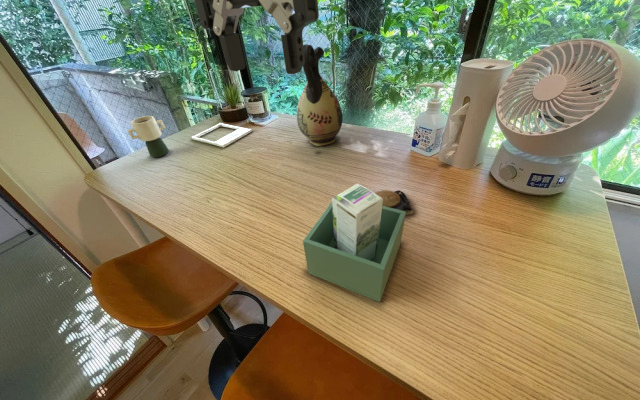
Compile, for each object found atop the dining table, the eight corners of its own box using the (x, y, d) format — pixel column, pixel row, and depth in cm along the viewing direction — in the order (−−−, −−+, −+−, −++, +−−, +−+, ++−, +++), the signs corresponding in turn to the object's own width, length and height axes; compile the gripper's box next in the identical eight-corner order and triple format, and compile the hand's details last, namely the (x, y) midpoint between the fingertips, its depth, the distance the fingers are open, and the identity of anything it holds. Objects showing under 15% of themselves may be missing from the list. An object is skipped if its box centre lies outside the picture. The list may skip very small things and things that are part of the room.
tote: (379, 302, 42) (384, 269, 36) (308, 273, 47) (302, 241, 42) (400, 244, 51) (406, 211, 45) (338, 225, 56) (336, 194, 51)
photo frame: (222, 144, 91) (191, 136, 99) (223, 147, 92) (192, 139, 100) (250, 128, 100) (220, 122, 109) (251, 131, 101) (221, 125, 109)
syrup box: (355, 239, 51) (356, 181, 42) (377, 257, 48) (383, 196, 39) (334, 254, 49) (330, 195, 40) (356, 274, 45) (357, 214, 36)
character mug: (171, 146, 97) (155, 112, 89) (179, 151, 93) (162, 116, 84) (141, 157, 91) (120, 122, 83) (148, 163, 87) (127, 127, 79)
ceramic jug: (308, 130, 98) (298, 39, 80) (347, 132, 94) (346, 37, 75) (291, 150, 86) (274, 49, 67) (335, 154, 81) (330, 47, 63)
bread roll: (368, 221, 57) (369, 209, 54) (360, 198, 63) (361, 186, 61) (415, 216, 57) (418, 203, 54) (403, 193, 63) (404, 181, 61)
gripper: (124, -141, 20) (199, 76, 31) (261, -219, 15) (298, 83, 25) (198, -117, 25) (241, 63, 36) (323, -168, 20) (332, 65, 30)
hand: (264, 71), depth 30 cm, fingers open, 8 cm apart
